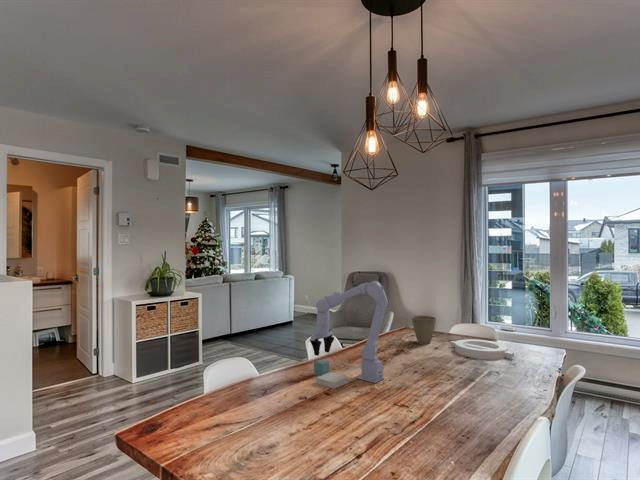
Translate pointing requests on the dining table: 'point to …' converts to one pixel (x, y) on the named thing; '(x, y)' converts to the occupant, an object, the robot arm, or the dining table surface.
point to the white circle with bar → (481, 349)
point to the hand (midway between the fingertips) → (321, 353)
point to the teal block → (321, 367)
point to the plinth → (332, 380)
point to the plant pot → (424, 328)
